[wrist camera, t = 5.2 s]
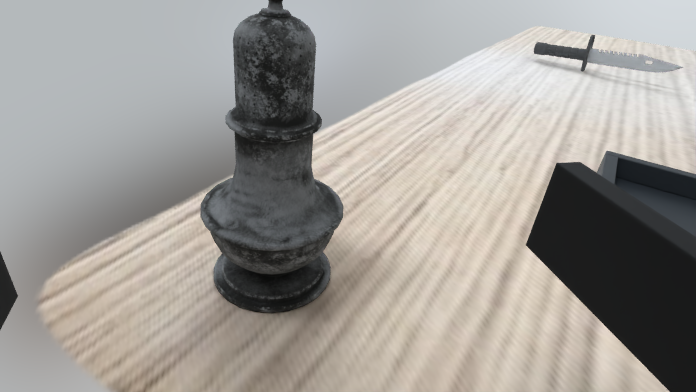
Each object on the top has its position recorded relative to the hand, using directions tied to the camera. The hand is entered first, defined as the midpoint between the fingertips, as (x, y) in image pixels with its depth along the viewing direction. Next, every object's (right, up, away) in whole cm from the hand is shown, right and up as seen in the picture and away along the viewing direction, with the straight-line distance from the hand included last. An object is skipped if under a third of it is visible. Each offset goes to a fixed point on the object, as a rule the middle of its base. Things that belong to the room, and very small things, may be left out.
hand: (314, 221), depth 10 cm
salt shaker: (-3, -3, +10) cm, 10 cm away
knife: (+37, +18, +53) cm, 67 cm away
